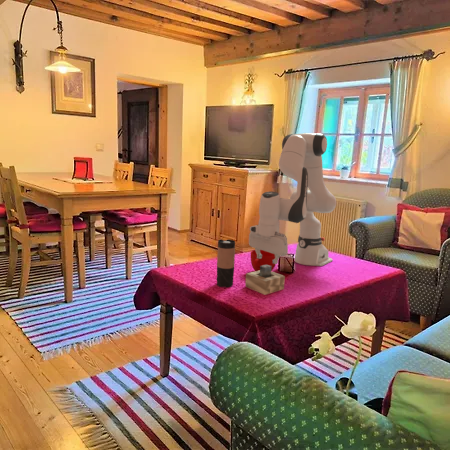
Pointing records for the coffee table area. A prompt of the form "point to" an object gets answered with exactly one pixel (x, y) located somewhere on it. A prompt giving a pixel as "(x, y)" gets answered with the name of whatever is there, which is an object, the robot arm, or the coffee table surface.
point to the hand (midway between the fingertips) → (267, 260)
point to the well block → (265, 282)
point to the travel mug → (225, 262)
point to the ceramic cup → (262, 260)
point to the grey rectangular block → (265, 271)
